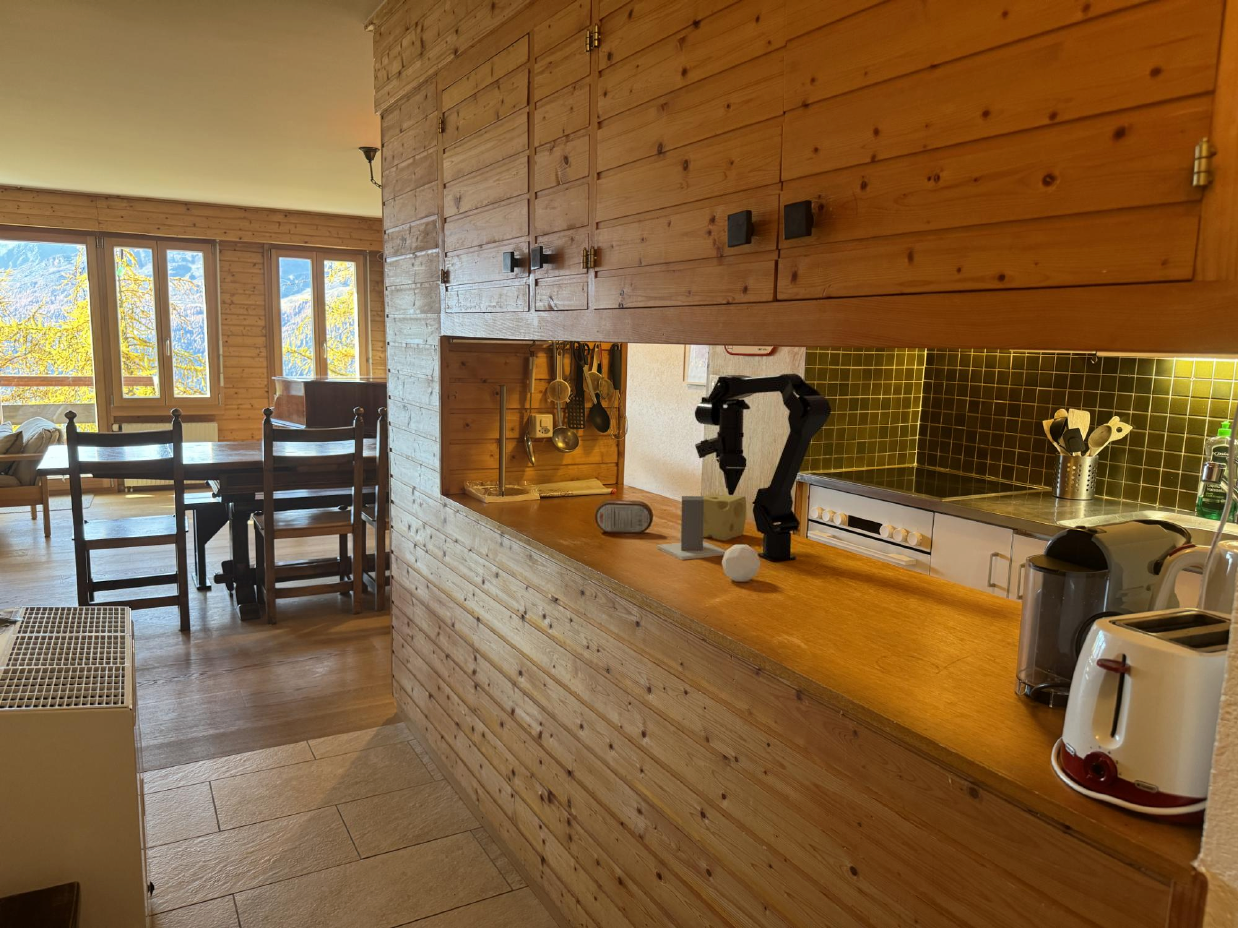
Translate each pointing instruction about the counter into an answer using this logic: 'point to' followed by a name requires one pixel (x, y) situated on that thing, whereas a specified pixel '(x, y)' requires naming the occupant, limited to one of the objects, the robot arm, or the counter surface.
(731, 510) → the cheese
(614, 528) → the tin
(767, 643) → the counter surface
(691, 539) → the block
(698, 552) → the tile
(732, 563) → the ball
